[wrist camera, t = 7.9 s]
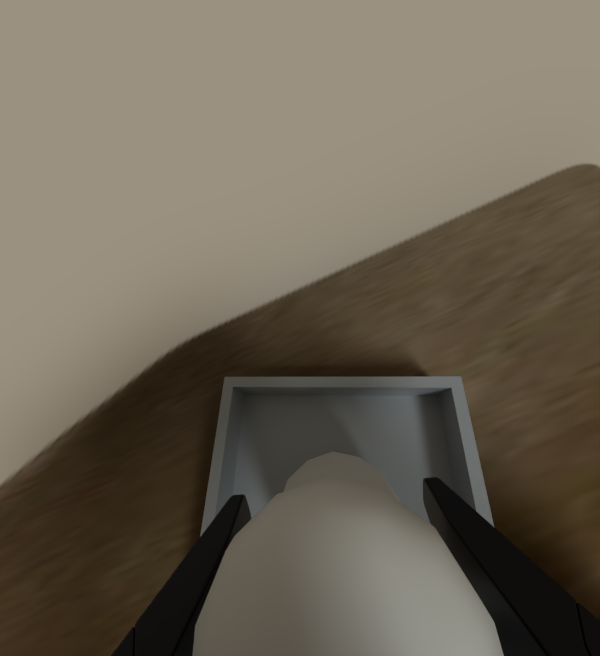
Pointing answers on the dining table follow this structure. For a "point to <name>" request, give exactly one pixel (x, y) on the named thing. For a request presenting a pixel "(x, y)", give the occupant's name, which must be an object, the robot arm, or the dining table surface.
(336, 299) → the dining table surface
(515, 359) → the dining table surface
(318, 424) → the tray
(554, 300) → the dining table surface
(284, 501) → the salt shaker
